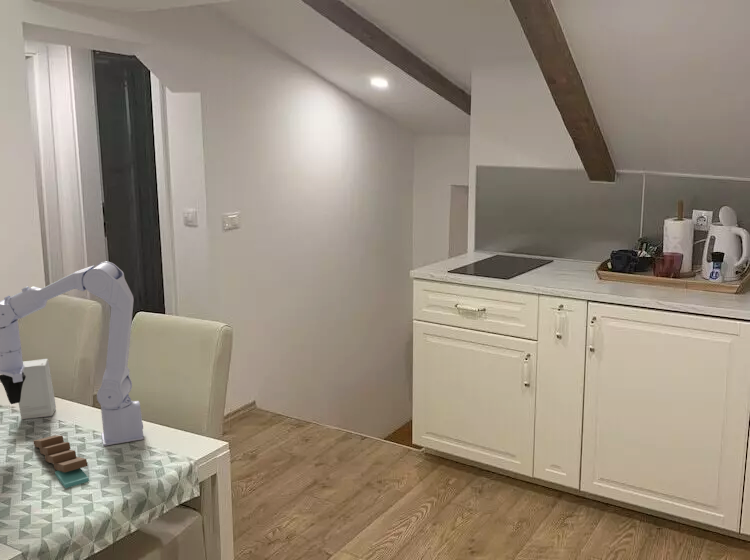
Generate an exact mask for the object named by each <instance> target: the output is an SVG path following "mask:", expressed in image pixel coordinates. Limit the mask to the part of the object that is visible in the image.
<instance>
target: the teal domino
mask: <svg viewBox="0 0 750 560" xmlns="http://www.w3.org/2000/svg"><path fill="white" fill-rule="evenodd" d="M54 474H55V476H56V478H57V480H59V482H60V484H61V485H62V486H63V487H64V488H65V489H67V488H71V487H74V486H78V485H82V484H84V483H89V482H90V479H89V476H88V475H87V474H86V473H85V472H84V470H83V469H82V468H79V469H75V470H72V471H68V472H61V471H58V470H55V471H54ZM88 481H89V482H88Z"/></svg>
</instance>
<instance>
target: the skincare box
mask: <svg viewBox="0 0 750 560" xmlns="http://www.w3.org/2000/svg"><path fill="white" fill-rule="evenodd" d="M49 361H50V360H49V358H41V359H34V360H26V361H24V360H23V364H24V367H25V368H24V370H23V373H24V374H25V375H26V378H25V380H24V383H23V386H22V390H21V399H20V402H19V403H18V408H19V413H20V414H19V415H20V419H21V420H29V419H36V418H43V417H44V418H45V417H46V418H47V417H52V416H53V415H54V414H55V412H56V410H57V409H56V408H57V406H56V397H55V391H54V387H53V380H52V373H51V368H50V362H49Z"/></svg>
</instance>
